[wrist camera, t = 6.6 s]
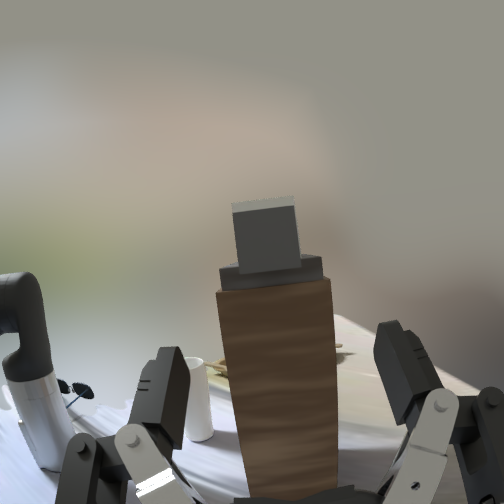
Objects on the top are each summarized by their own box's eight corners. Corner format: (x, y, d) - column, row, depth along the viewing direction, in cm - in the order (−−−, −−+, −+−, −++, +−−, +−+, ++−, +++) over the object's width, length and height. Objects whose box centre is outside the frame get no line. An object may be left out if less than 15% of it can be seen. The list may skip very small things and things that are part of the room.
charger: (323, 264, 17) (308, 160, 17) (217, 276, 17) (206, 173, 17) (294, 255, 37) (288, 206, 37) (245, 261, 37) (239, 212, 37)
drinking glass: (223, 439, 46) (208, 365, 46) (186, 448, 44) (167, 373, 44) (212, 423, 52) (199, 354, 52) (179, 430, 50) (162, 361, 50)
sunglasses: (97, 400, 63) (91, 384, 62) (65, 432, 49) (55, 414, 48) (55, 391, 66) (49, 376, 65) (24, 415, 52) (15, 399, 51)
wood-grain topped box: (335, 507, 26) (327, 254, 26) (254, 515, 27) (212, 268, 26) (321, 448, 40) (307, 252, 40) (259, 455, 41) (232, 261, 40)
